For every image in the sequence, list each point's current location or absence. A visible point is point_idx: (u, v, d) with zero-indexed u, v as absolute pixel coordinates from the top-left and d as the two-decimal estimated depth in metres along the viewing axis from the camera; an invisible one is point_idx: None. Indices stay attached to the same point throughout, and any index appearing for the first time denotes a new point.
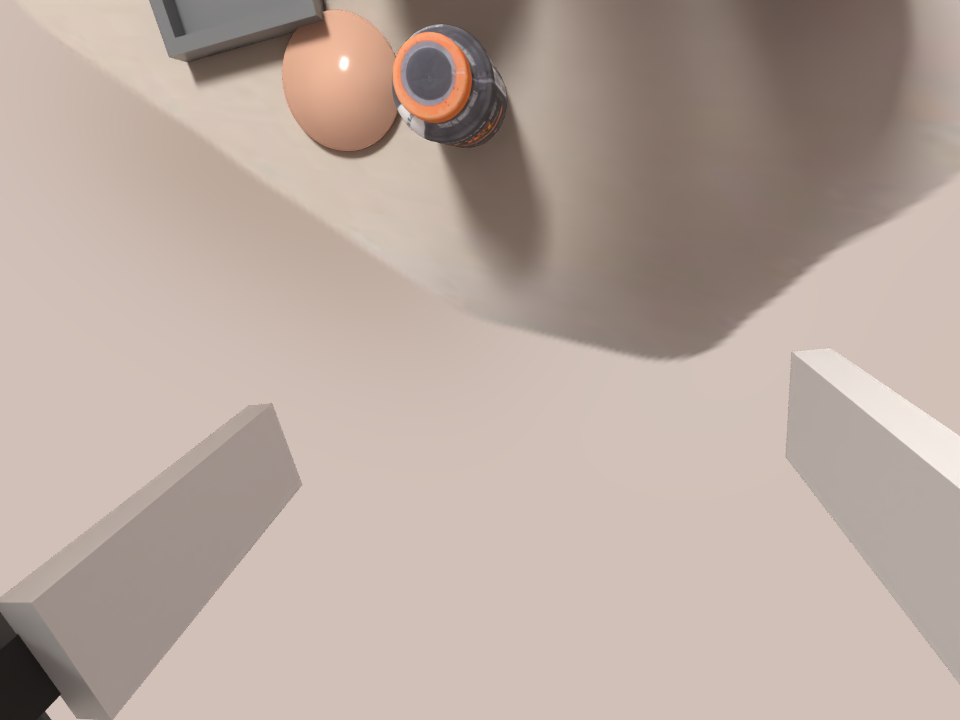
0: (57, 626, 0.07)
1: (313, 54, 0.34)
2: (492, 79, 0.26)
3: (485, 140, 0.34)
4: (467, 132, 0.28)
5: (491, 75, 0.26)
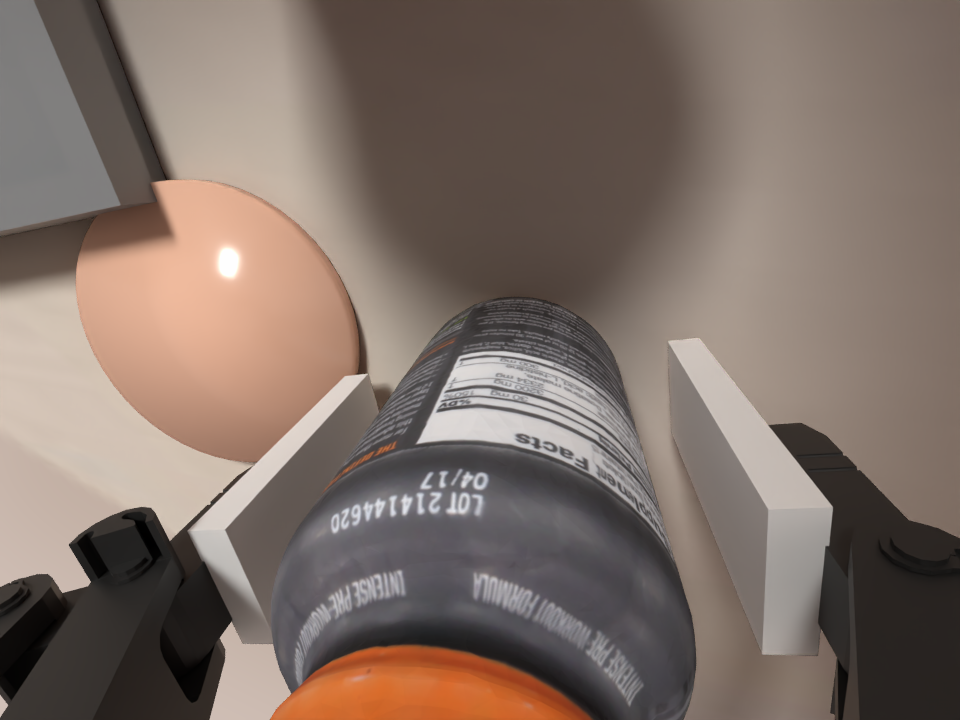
0: (241, 553, 0.08)
1: (142, 274, 0.14)
2: None
3: None
4: None
5: (695, 667, 0.06)
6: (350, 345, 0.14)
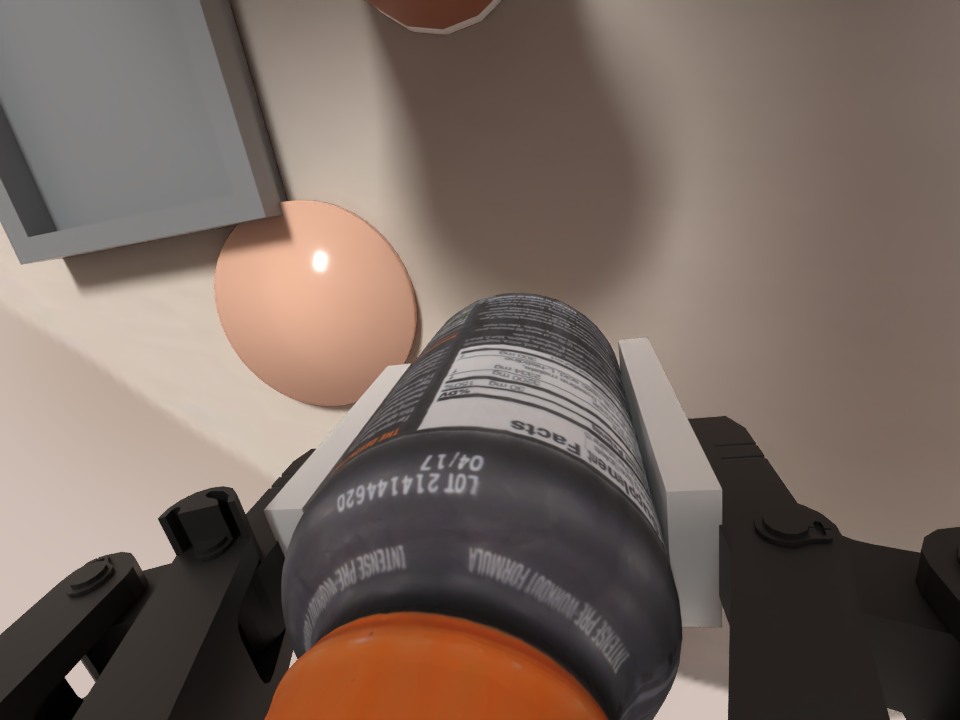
0: None
1: (265, 265, 0.20)
2: None
3: None
4: None
5: (681, 641, 0.06)
6: (412, 316, 0.20)
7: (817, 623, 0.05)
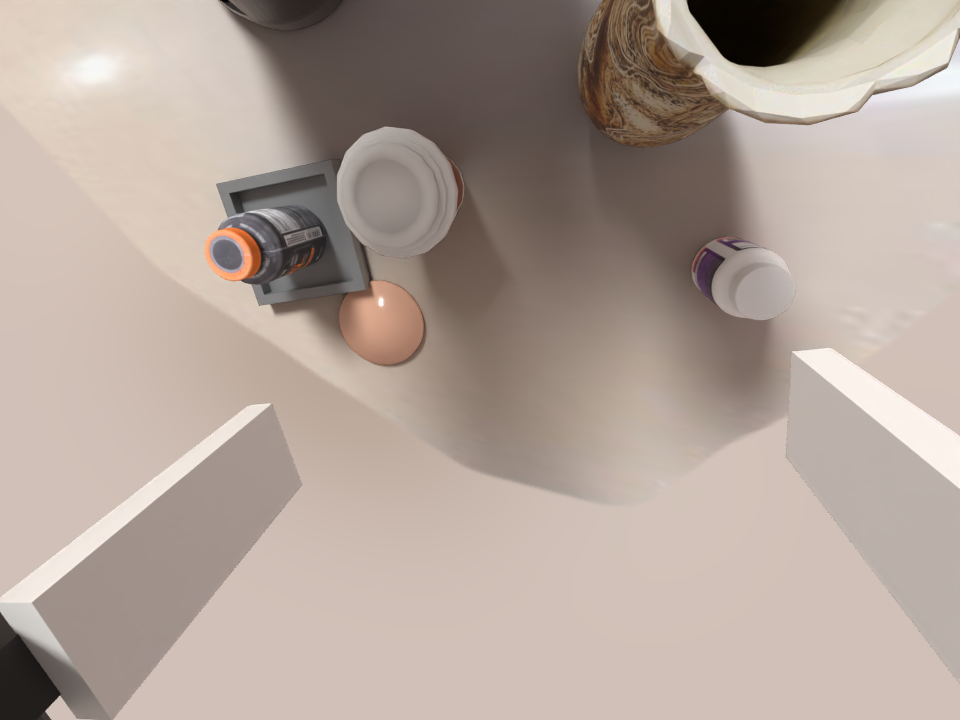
0: (57, 626, 0.07)
1: (361, 306, 0.49)
2: (281, 248, 0.39)
3: (311, 264, 0.47)
4: (270, 280, 0.40)
5: (279, 246, 0.39)
6: (422, 326, 0.49)
7: None
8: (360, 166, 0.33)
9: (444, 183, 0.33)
